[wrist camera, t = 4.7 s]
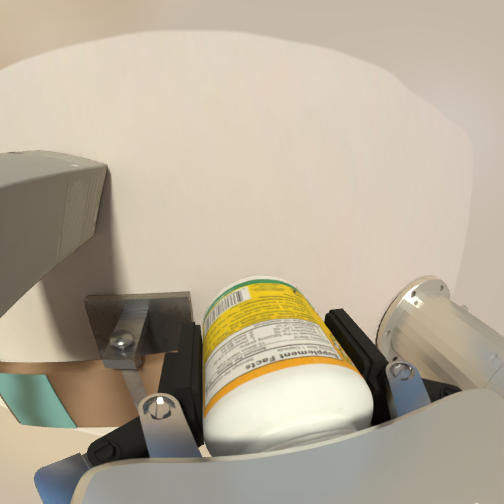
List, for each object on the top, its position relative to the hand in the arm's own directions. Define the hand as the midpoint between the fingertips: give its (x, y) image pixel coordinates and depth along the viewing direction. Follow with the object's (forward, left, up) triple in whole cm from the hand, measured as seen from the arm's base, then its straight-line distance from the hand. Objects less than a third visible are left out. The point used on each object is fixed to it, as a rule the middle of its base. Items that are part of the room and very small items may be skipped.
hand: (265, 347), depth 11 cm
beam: (+9, +10, -8) cm, 15 cm away
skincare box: (+15, -6, -13) cm, 21 cm away
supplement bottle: (0, 0, -2) cm, 2 cm away
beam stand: (+9, +10, -13) cm, 18 cm away
